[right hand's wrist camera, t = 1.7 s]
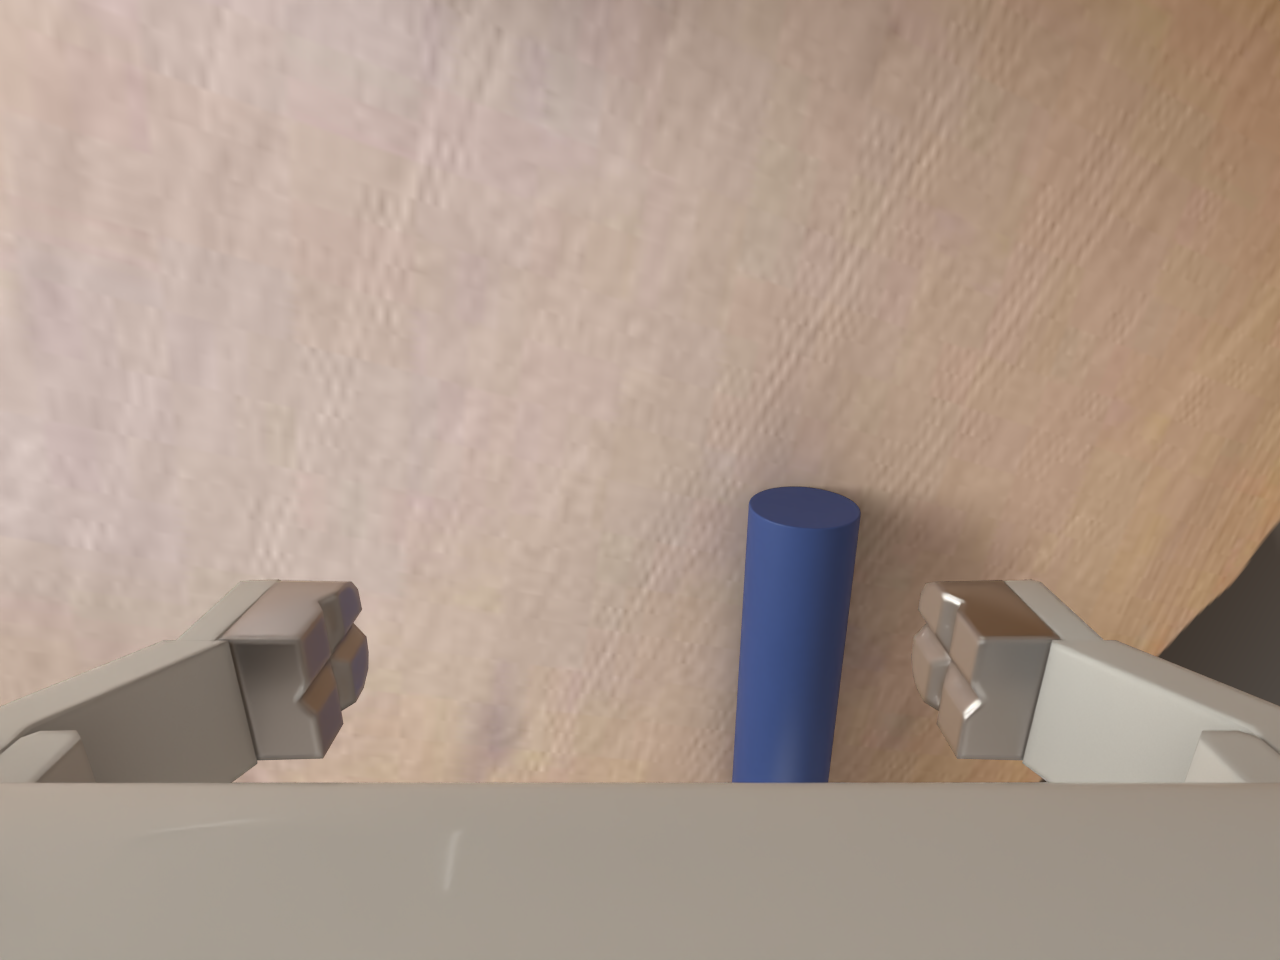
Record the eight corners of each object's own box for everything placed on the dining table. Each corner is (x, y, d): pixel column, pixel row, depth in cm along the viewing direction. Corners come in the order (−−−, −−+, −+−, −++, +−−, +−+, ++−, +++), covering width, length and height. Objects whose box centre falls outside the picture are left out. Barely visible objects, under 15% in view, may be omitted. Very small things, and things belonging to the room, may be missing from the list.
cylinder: (742, 486, 42) (758, 528, 37) (843, 486, 42) (875, 528, 37) (724, 804, 51) (734, 878, 45) (808, 804, 51) (829, 878, 45)
